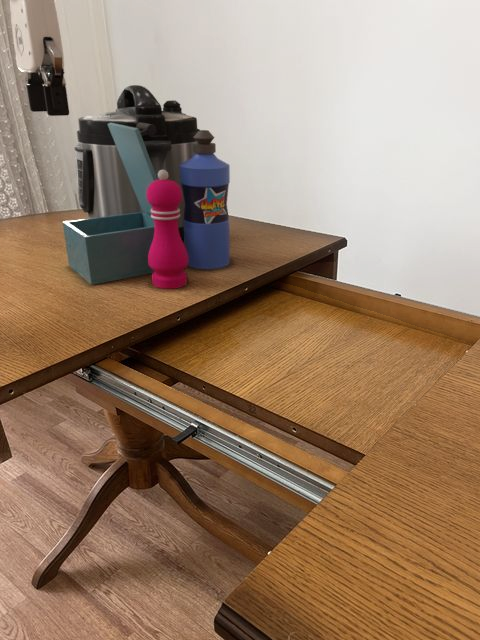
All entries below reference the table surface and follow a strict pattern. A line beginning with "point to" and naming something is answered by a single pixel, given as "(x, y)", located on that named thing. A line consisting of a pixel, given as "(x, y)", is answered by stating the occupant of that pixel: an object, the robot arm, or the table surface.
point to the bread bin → (110, 246)
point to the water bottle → (206, 205)
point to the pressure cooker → (104, 159)
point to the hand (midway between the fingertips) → (49, 113)
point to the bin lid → (135, 157)
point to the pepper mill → (166, 234)
